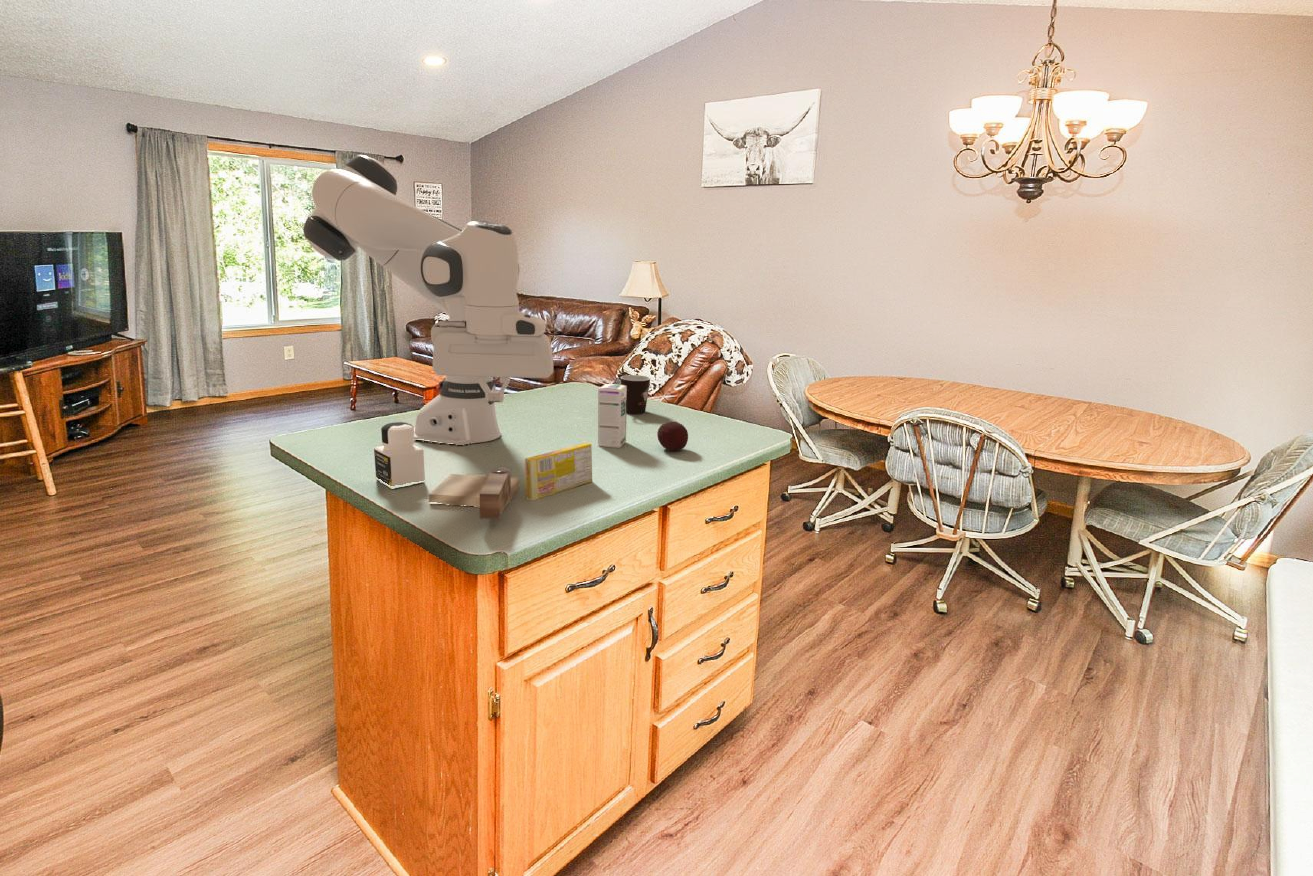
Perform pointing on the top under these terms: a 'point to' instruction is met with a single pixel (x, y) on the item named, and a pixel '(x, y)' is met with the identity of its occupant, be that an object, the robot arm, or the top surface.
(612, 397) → the syrup box
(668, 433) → the dark red plum
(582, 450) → the candy box
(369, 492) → the top surface
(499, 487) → the folding leg
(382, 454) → the medicine bottle
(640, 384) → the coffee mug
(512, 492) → the stool seat
